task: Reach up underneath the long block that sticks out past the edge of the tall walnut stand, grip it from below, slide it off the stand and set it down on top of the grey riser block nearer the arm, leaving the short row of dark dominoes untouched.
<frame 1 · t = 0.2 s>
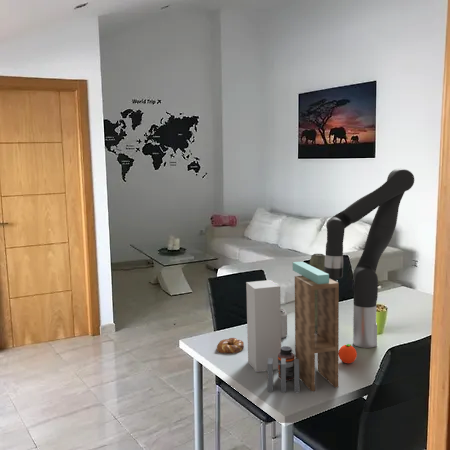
hand: (332, 303, 211), 18 cm above the table, tool pointing down, fingers open, 8 cm apart
clementine: (347, 362, 195), on the table
domino 2: (283, 388, 174), on the table
braided bread ring: (230, 350, 211), on the table
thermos: (318, 330, 231), on the table
stand: (316, 380, 180), on the table
domino 3: (270, 388, 175), on the table
riser: (264, 365, 194), on the table
block: (309, 276, 179), point 37 cm above the table, touching stand
supplement bottle: (286, 378, 183), on the table
domino 1: (296, 389, 174), on the table
can: (278, 336, 225), on the table
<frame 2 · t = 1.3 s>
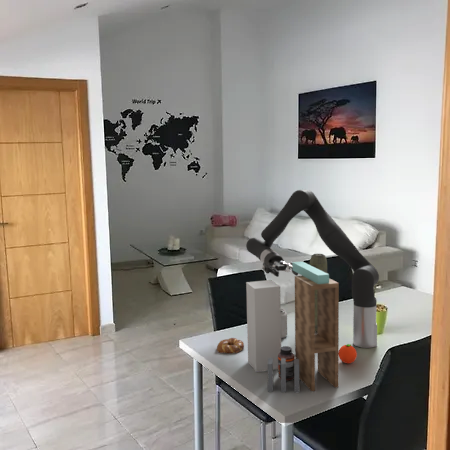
hand: (287, 273, 203), 32 cm above the table, tool horizontal, fingers open, 8 cm apart
nothing on the table moved.
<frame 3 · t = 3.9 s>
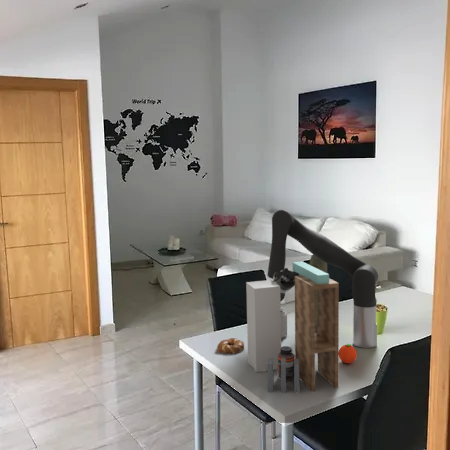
hand: (298, 269, 189), 37 cm above the table, tool pointing upward, fingers open, 8 cm apart
nothing on the table moved.
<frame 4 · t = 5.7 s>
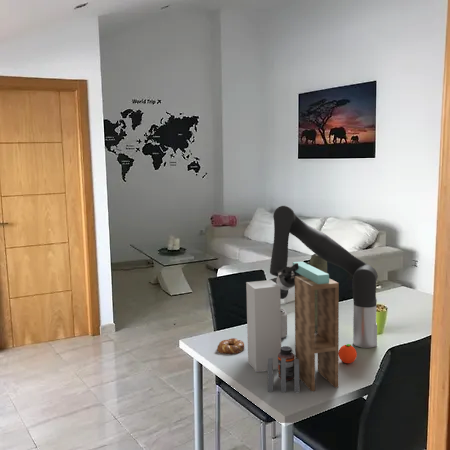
hand: (303, 265, 184), 40 cm above the table, tool pointing upward, fingers closed on block, 4 cm apart
block: (309, 276, 179), point 37 cm above the table, touching gripper, stand
everything else where it was.
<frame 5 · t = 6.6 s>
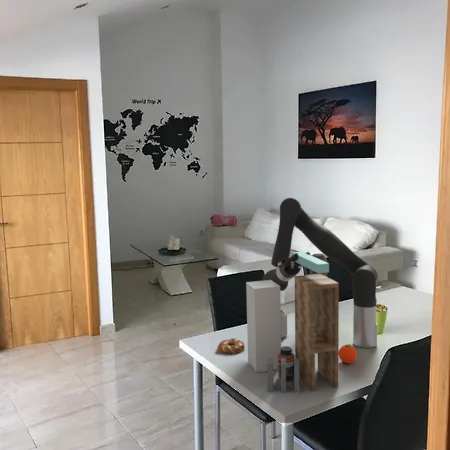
hand: (303, 255, 184), 44 cm above the table, tool pointing upward, fingers closed on block, 4 cm apart
block: (309, 265, 179), point 41 cm above the table, touching gripper
everything else where it was.
when the fingers open (36 cm above the table, at t = 11.5 s): block stays where it is, resting on riser.
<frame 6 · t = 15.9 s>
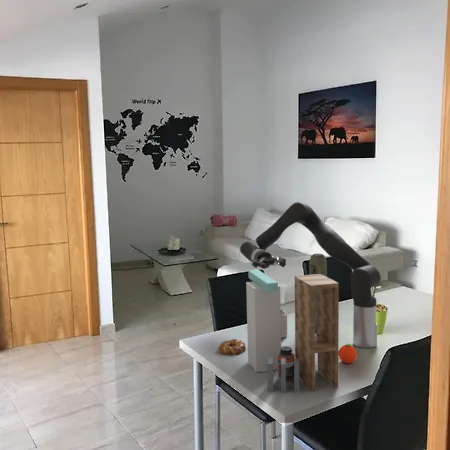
hand: (274, 265, 211), 34 cm above the table, tool horizontal, fingers open, 8 cm apart
block: (262, 283, 190), point 32 cm above the table, touching riser
at the end: block inside the target area on the riser (0.5 cm from its centre), point 32.0 cm above the riser's base; block moved 19.8 cm from its start; the gripper is holding nothing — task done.
